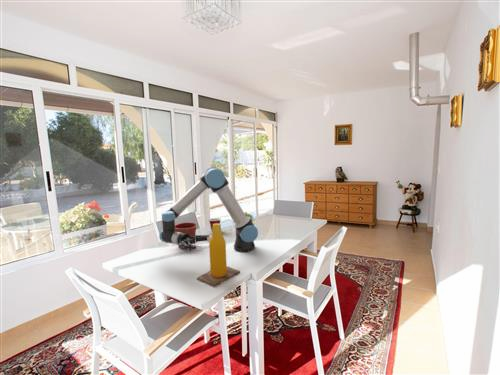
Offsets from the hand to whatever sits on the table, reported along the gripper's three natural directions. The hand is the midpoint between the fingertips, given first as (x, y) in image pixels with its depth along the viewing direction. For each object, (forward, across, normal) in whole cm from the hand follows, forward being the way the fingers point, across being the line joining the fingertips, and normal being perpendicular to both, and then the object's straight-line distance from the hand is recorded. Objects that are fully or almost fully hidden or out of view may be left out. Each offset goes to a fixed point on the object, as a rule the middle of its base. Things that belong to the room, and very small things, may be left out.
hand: (209, 244), depth 150 cm
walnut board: (+6, 0, -18) cm, 19 cm away
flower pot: (-44, -28, -18) cm, 55 cm away
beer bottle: (+6, 0, -17) cm, 18 cm away
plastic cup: (-45, -65, -18) cm, 81 cm away
